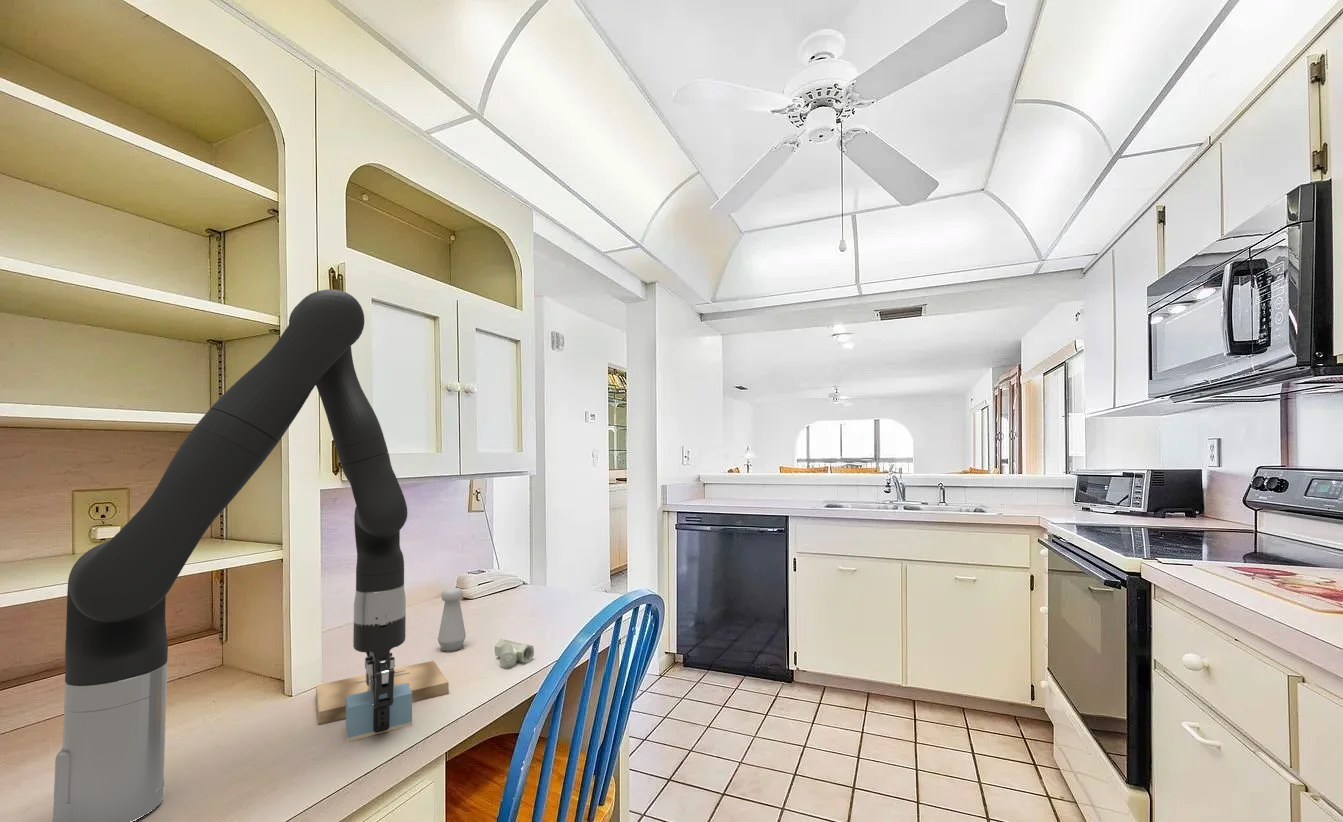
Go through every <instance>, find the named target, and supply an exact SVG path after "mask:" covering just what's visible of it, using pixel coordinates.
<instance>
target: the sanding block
mask: <svg viewBox="0 0 1343 822" xmlns="http://www.w3.org/2000/svg"><path fill="white" fill-rule="evenodd" d="M382 698H387V693H386V694H381V695H380V696H379V699H382ZM393 701H394V702H393V705H390V726H389V729H388V730H386V731H382V732H378V733H375V732H374V730H373V707H372V703H373V694H372V693H370V692H369V691H367V692H363V693H358V694H353V695H349V696H346V718H345V732H346V740H347V742H351V741H355V740H358V739H363V738H367V737H370V736H374V735H378V734H383V733H386V732H390V731H394V730H397V729H402V728H403V729H404V728H406V727H410V726H412V725H413V702H412V692H411V690H410V687H409V685H408V683H404V684H399V685H395V686H393Z"/></svg>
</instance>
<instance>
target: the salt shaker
mask: <svg viewBox="0 0 1343 822" xmlns="http://www.w3.org/2000/svg"><path fill="white" fill-rule="evenodd" d="M462 598H463V590H462V589H461V588H459V587H449V588H448V587H447V588H445V589H444V590H443V591H442V592H441V600H442V601H444V605H443V609H442V614H441V615H442V616H441V621H440V626H439V632H438V636H437V642H438V644H439V646H440V648H441V650H442V652H449V651H451V652H454V650H455V651H458V649H459V650H460V649H461V648H462V647H463V645H464V643H465V640H466V637H467V636H466V635H467V633H466V629H465V623H464V618H463V612H462V606H461V599H462Z"/></svg>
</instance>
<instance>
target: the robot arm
mask: <svg viewBox="0 0 1343 822" xmlns="http://www.w3.org/2000/svg"><path fill="white" fill-rule="evenodd" d="M364 328H365V314H364V310H363V307H362V305H361V304H360V302H359V301H358V299H356V298H355V296H353V295H351V294H350V293H348V292H346V291H343V290H339V289H334V288H332V289H329V288H328V289H323V290H322V289H321V290H316V291H315V292H311V293H310V294H307V295H306V296H305V297H304V298H303V299H302V300H300V302H299V303H298V304H297V305H296V306H295V307H294V308H293V310H292V311H291V312H290V314H289V318H288V325H287V327H286V328H285V329H284V331H283V332H282V334H281V335H280V337H279V339H277V341H276V342H275V344H274V345H273V346H272V348H271V349H270V350H269V351H268V353H267V354H266V355H264V357H262V359H260V360H259V361H258V362H257V363H256V364H254V366H253V367H251V368H250V369H249V370H248V371H247V372H246V373H244V374H243V375H242V376H241V377H240V378H239V379H238V380H237V381H235V382H234V384H232V385H231V386H230V387H229V388H228V389H227V390H226V391H225V392H224V393H223V394H222V395H221V396H220V398H218V399H217V400H216V402H214V403H213V405H212V406H211V407H210V408H209V409H208V410H207V412H206V413H205V414H204V415H203V417H202V418H201V419H200V420H199V421H198V422H197V424H195V426H194V428H192V430H191V431H190V432H189V434H188V435H187V436H186V438H185V439H184V440H183V442H182V443H181V445H180V446H179V448H178V449H177V450H176V452H175V455H174V456H173V457H172V459H171V460H170V462H169V464H168V466H167V467H166V470H165V472H163V475H162V477H161V479H160V481H159V482H158V484H157V486H156V488H155V489H154V490H153V493H152V494H151V495H150V496H149V498H148V499H147V500H146V501H145V503H144V504H143V506H142V507H140V509H139V510H138V512H136V513H135V515H133V516H132V517H131V519H130V520H129V521H128V522H127V523H126V524H125V525H124V526H123V527H122V528H121V529H119V531H118V532H117V533H116V534H115V535H114V536H113V537H112V538H111V539H110V540H109V541H105V542H103V543H100V544H97V545H95V546H94V547H92V548H91V549H89V550H87V551H86V552H85V553H84V554H82V555H81V556H80V557H79V558H78V559H77V560H76V562H75V563H74V565H73V566H72V567H71V570H70V572H69V574H68V575H69V576H68V580H67V591H66V592H67V593H66V620H65V621H66V622H65V623H66V624H65V645H64V650H65V651H64V653H65V654H64V655H65V656H64V661H65V662H64V663H65V664H64V665H65V667H64V668H65V670H64V675H65V676H64V682H65V684H64V704H63V705H64V706H63V722H62V724H63V727H62V745H61V746H62V747H61V749H60V750H59V751H58V753H57V754H56V756H55V758H54V759H55V761H54V787H53V788H54V789H53V807H52V811H53V812H52V822H130V821H133V820H135V819H137V818H139V817H141V816H143V815H145V814H147V813H148V812H150V811H151V810H153V809H154V808H156V807H157V806H158V805H159V804H160V803H161V804H162V802H163V800H164V799H163V798H164V787H165V779H164V778H165V755H166V753H165V752H166V751H165V750H166V721H167V720H166V719H167V718H166V716H167V714H166V713H167V690H168V689H167V688H168V687H167V686H168V685H167V684H168V683H167V681H168V657H169V656H168V651H169V642H168V635H167V625H166V624H167V623H166V602H167V601H166V596H167V595H168V593H169V591H171V588H172V587H173V585H174V583H175V582H176V580H177V579H178V577H179V575H180V573H181V571H182V570H183V568H184V567H185V565H186V563H187V562H188V560H189V558H190V556H191V555H192V553H193V552H194V551H195V549H196V547H197V546H198V544H199V543H200V541H201V539H202V537H203V536H204V535H205V533H206V532H207V531H208V529H209V527H210V526H211V525H212V524H213V522H214V521H215V520H216V519H217V517H218V516H219V515H220V514H221V513H222V512H223V511H224V509H226V507H228V505H229V504H230V503H231V502H232V501H233V499H234V498H235V497H236V496H237V495H238V494H239V492H240V491H241V490H242V489H243V487H245V485H246V484H247V482H249V480H250V479H251V478H252V476H253V475H254V474H256V472H257V471H258V470H259V468H260V467H261V466H262V464H264V462H265V461H266V460H267V458H268V457H269V456H270V454H271V453H272V452H273V450H274V449H275V447H277V445H278V444H279V443H280V442H281V441H280V440H281V439H282V438H283V436H284V435H285V433H286V431H287V430H288V429H289V428H290V427H291V425H292V423H293V421H294V420H295V419H296V418H297V415H298V414H299V413H300V411H301V409H302V408H303V406H304V404H305V403H306V401H308V398H309V396H310V395H311V393H312V391H313V390H314V388H315V387H316V389H317V391H318V394H319V397H320V400H321V403H322V406H323V408H324V412H325V415H326V418H327V422H328V425H329V428H330V431H331V434H332V438H333V443H334V446H335V448H336V452H337V456H338V460H339V463H340V465H341V470H342V472H343V475H344V476H345V478H346V479H347V481H348V482H349V484H350V488H351V491H352V495H353V499H354V503H355V509H354V514H353V516H354V520H353V521H354V523H353V524H354V525H353V526H354V536H355V547H356V568H355V596H354V602H353V634H352V637H353V638H352V639H353V640H352V642H353V644H352V645H353V649H354V650H355V651H356V652H358V653H359V652H360V653H365V654H366V657H364V668H365V675H366V684H367V686H368V691H369V692H370V693H372V694H373V703H372V707H373V730H374V732H375V733H378V732H382V731H386V730H388V729H389V726H390V705H393V702H394V701H393V686H394V674H395V670H394V669H395V668H396V667H395V666H396V659H395V657H394V656H393V652H390V651H391V650H392V649H394V648H396V647H397V648H398V647H399V646H401V645H403V643H404V642H405V641H406V631H407V630H406V621H407V620H406V619H407V617H406V615H407V614H406V611H407V609H406V605H407V604H406V603H407V602H406V601H407V600H406V592H405V559H404V555H403V554H404V553H403V552H402V549H401V545H400V544H401V543H400V541H401V539H400V537H401V534H400V531H401V529H402V528H403V527H404V526H405V524H406V522H407V519H408V505H407V501H406V498H405V494H404V493H403V490H402V487H401V486H400V483H399V481H398V479H397V476H396V473H395V471H394V469H393V466H392V463H391V458H390V453H389V450H388V446H387V444H386V443H387V442H386V439H385V437H384V432H383V430H382V426H381V423H380V421H379V419H378V417H377V415H376V413H375V410H374V409H373V407H372V405H371V403H370V402H369V400H368V398H367V396H366V394H365V393H364V390H363V389H362V386H361V384H360V381H359V378H358V375H357V373H356V369H355V365H354V359H353V352H352V346H353V345H354V344H355V343H356V342H357V341H358V340H359V338H360V337H361V336H362V334H363V331H364ZM386 693H387V698H382V699H379V696H380V695H381V694H386ZM162 799H163V800H162ZM161 801H162V802H161ZM161 804H160V805H161ZM160 805H159V806H160ZM159 806H158V807H159ZM158 807H157V808H158ZM157 808H156V809H157ZM153 811H154V810H153Z"/></svg>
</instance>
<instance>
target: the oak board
mask: <svg viewBox="0 0 1343 822" xmlns="http://www.w3.org/2000/svg"><path fill="white" fill-rule="evenodd" d="M394 670H395V674H394V686H395V685H399V684H404V683H408V685H409V687H410V690H411V692H412V703H416V702H419V701H423V700H428V699H431V698H435V697H439V696H440V697H441V696H444V695H449V681H448V679H447V678H446V676H445V675H444V674H443V672H442V671H441V669H440V667H439V666H438V665H437V663H436V662H435V661H434V660H431V661H426V662H421V663H416V664H411V665H407V666H402V667H397V668H396V667H395V668H394ZM315 687H316V688H315V698H316V699H315V700H316V706H317V707H316V709H317V717H318V718H317V720H318V725H323V724H327V723H331V722H332V723H333V722H336V721H340V720H344V719H345V720H346V696H349V695H353V694H358V693H363V692H367V691H368V686H367V684H366V674H362V675H357V676H353V677H350V678H344V679H343V678H342V679H338V680H333V681H330V682H323V683H319V684H316V685H315Z"/></svg>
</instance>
